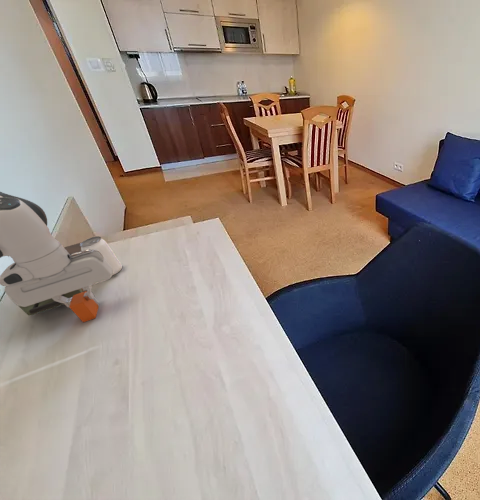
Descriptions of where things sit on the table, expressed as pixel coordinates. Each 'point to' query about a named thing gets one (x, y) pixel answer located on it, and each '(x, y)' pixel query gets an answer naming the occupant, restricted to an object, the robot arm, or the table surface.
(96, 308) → the orange wooden toy brick
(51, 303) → the drawer
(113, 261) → the can
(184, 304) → the table surface
